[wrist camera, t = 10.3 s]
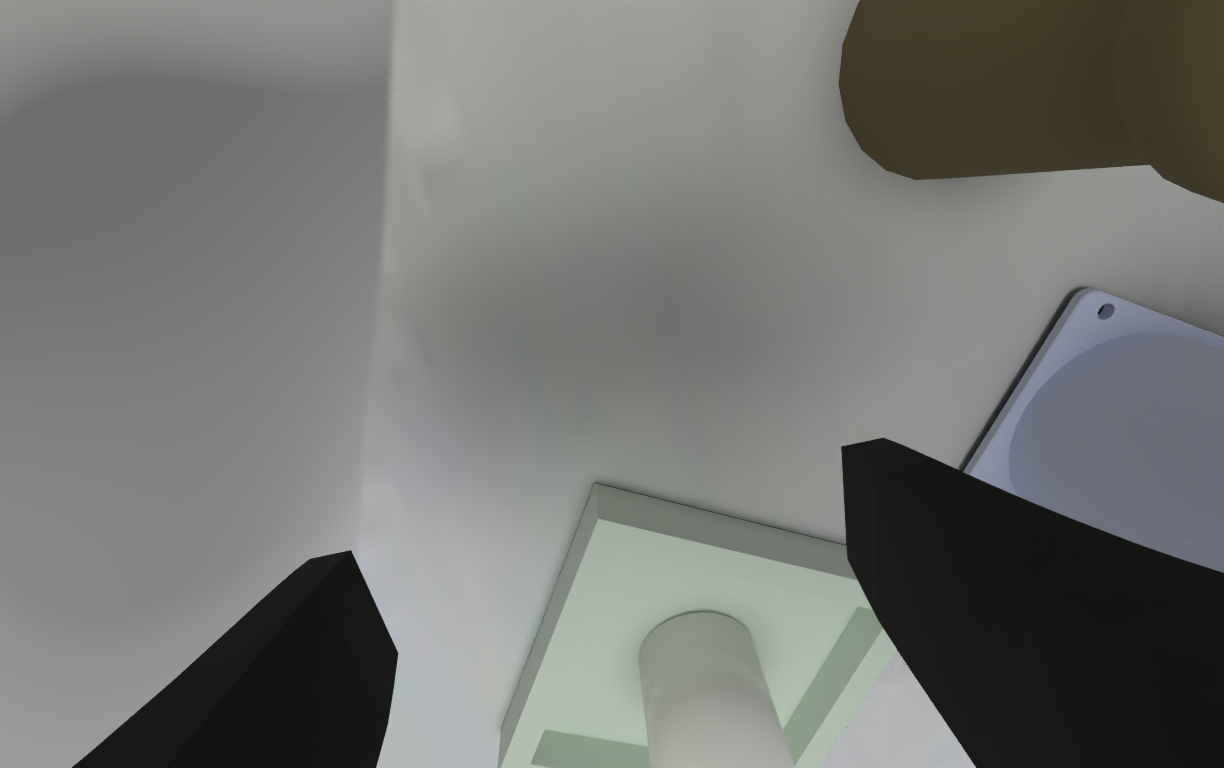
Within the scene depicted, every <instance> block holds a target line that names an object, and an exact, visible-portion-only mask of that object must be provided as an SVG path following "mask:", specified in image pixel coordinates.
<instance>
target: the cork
mask: <svg viewBox="0 0 1224 768" xmlns="http://www.w3.org/2000/svg"><path fill="white" fill-rule="evenodd" d="M839 87H840V92H841V98H842V103H843V108H844V114H845V119H846V122H847V124H848V126H849V127H850V129H851V131H852V133H853V134H854V136H855V138H856V140H857V142H858V143H859V145H860V147H861V149H862V150H863V151H864V152H865V153H866V154H868V155H869V156H870V157H871V158H872V159H874V160H875V161H876V162H877V163H878V164H880V165H881V166H882V167H883V168H884V169H886V170H887V171H890V172H894V173H897V174H900V175H903V176H906V177H909V178H912V179H915V180H920V179H943V178H960V177H974V176H989V175H1004V174H1019V173H1034V172H1049V171H1063V170H1078V169H1093V168H1108V167H1123V166H1138V165H1151V166H1152V167H1153V168H1154V169H1155V170H1156V171H1157V172H1158V173H1159V174H1160V175H1161V176H1162V177H1163V178H1164V179H1166V180H1168V181H1170V182H1172V183H1174V184H1176V185H1179V186H1181V187H1183V188H1185V189H1187V190H1189V191H1191V192H1194V193H1197V194H1200V195H1202V196H1205V197H1208V198H1211V199H1214V200H1217V201H1219V202H1222V203H1224V0H860V2H859V3H858V6H857V9H856V11H855V14H854V16H853V19H852V22H851V24H850V27H849V30H848V32H847V35H846V38H845V40H844V43H843V50H842V60H841V70H840V80H839Z"/></svg>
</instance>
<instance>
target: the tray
mask: <svg viewBox="0 0 1224 768" xmlns="http://www.w3.org/2000/svg"><path fill="white" fill-rule="evenodd" d="M691 613H716V614H721V615H724V616H727V617H730V618H732V619H734V620H736V621H737V622H739V623H740V624H742V625H743V626H744V627H745V628H746V629H747V630H748V632H749V633H750V635H751V637H752V639H753V642H754V645H755V648H756V651H757V654H758V657H759V660H760V663H761V666H762V669H763V672H764V675H765V678H766V681H767V684H768V687H769V690H770V693H771V696H772V699H773V702H774V705H775V708H776V711H777V714H778V717H779V720H780V723H781V726H782V729H783V732H784V735H785V738H786V741H787V744H788V747H789V750H790V754H791V757H792V760H793V763H794V766H795V768H819V767H820V765H821V764H822V762H823V761H824V759H825V758H826V756H827V755H828V753H829V752H830V750H831V749H832V747H833V746H834V744H835V743H836V741H837V740H838V738H839V737H840V735H841V734H842V732H843V731H844V729H845V728H846V726H847V724H848V723H849V721H850V720H851V718H852V717H853V715H854V714H855V712H856V711H857V709H858V708H859V706H860V705H861V703H862V702H863V700H864V699H865V697H866V696H867V694H868V693H869V691H870V690H871V688H872V687H873V685H874V684H875V682H876V681H877V679H878V678H879V676H880V675H881V673H882V672H883V670H884V669H885V667H886V666H887V664H888V663H889V661H890V660H891V658H892V656H893V655H894V653H895V652H896V650H897V649H896V647H895V646H894V644H893V643H892V641H891V640H890V638H889V636H888V635H887V633H886V632H885V630H884V629H883V627H882V626H881V624H880V623H879V621H878V619H877V617H876V615H875V613H874V611H873V609H872V608H871V606H870V604H869V602H868V600H867V598H866V596H865V594H864V592H863V590H862V588H861V586H860V584H859V582H858V580H857V578H856V576H855V574H854V572H853V570H852V568H851V566H850V563H849V561H848V559H847V546H845V545H841V544H837V543H833V542H829V541H825V540H821V539H817V538H813V537H809V536H805V535H801V534H797V533H793V532H789V531H785V530H781V529H777V528H773V527H769V526H765V525H761V524H757V523H753V522H749V521H745V520H741V519H737V518H733V517H729V516H725V515H721V514H717V513H713V512H708V511H704V510H700V509H696V508H692V507H688V506H684V505H680V504H676V503H672V502H668V501H664V500H660V499H656V498H652V497H648V496H644V495H640V494H636V493H632V492H628V491H624V490H620V489H616V488H612V487H608V486H604V485H600V484H596V483H595V484H594V486H593V489H592V492H591V494H590V497H589V500H588V502H587V505H586V507H585V510H584V513H583V515H582V518H581V521H580V523H579V526H578V529H577V531H576V534H575V536H574V539H573V542H572V544H571V547H570V550H569V552H568V555H567V557H566V560H565V563H564V565H563V568H562V571H561V573H560V576H559V579H558V581H557V584H556V586H555V589H554V592H553V594H552V597H551V600H550V602H549V605H548V608H547V610H546V613H545V615H544V618H543V621H542V623H541V626H540V629H539V631H538V634H537V637H536V639H535V642H534V644H533V647H532V650H531V652H530V655H529V658H528V660H527V663H526V665H525V668H524V671H523V673H522V676H521V679H520V681H519V684H518V687H517V689H516V692H515V694H514V697H513V700H512V702H511V705H510V708H509V710H508V713H507V716H506V718H505V721H504V723H503V726H502V729H501V736H500V747H499V758H498V768H651V765H650V756H649V748H648V739H647V731H646V723H645V714H644V706H643V697H642V689H641V680H640V672H639V663H638V657H639V652H640V648H641V646H642V644H643V642H644V641H645V639H646V638H647V637H648V635H649V634H650V633H651V632H652V631H653V630H655V629H656V628H657V627H658V626H660V625H661V624H663V623H665V622H667V621H668V620H671V619H673V618H676V617H679V616H682V615H686V614H691Z"/></svg>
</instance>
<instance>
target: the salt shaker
mask: <svg viewBox="0 0 1224 768" xmlns="http://www.w3.org/2000/svg"><path fill="white" fill-rule="evenodd" d="M638 663H639V672H640V680H641V689H642V697H643V706H644V714H645V723H646V731H647V739H648V748H649V756H650V765H651V768H795V766H794V763H793V760H792V757H791V754H790V750H789V747H788V744H787V741H786V738H785V735H784V732H783V729H782V726H781V723H780V720H779V717H778V714H777V711H776V708H775V705H774V702H773V699H772V696H771V693H770V690H769V687H768V684H767V681H766V678H765V675H764V672H763V669H762V666H761V663H760V660H759V657H758V654H757V651H756V648H755V645H754V642H753V639H752V637H751V635H750V633H749V632H748V630H747V629H746V628H745V627H744V626H743V625H742V624H740V623H739V622H737V621H736V620H734V619H732V618H730V617H727V616H724V615H721V614H716V613H691V614H686V615H682V616H679V617H676V618H673V619H671V620H668V621H667V622H665V623H663V624H661V625H660V626H658V627H657V628H656V629H655V630H653V631H652V632H651V633H650V634H649V635H648V637H647V638H646V639H645V641H644V642H643V644H642V646H641V648H640V652H639V657H638Z"/></svg>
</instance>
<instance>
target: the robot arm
mask: <svg viewBox="0 0 1224 768" xmlns="http://www.w3.org/2000/svg"><path fill="white" fill-rule="evenodd" d="M1103 305H1104V308H1103V311H1102V312H1101V313H1100V314H1098V311H1099V309H1100V308H1101V307H1102V306H1103ZM841 449H842V468H843V487H844V506H845V525H846V544H847V559H848V561H849V563H850V566H851V568H852V570H853V572H854V574H855V576H856V578H857V580H858V582H859V584H860V586H861V588H862V590H863V592H864V594H865V596H866V598H867V600H868V602H869V604H870V606H871V608H872V609H873V611H874V613H875V615H876V617H877V619H878V621H879V623H880V624H881V626H882V627H883V629H884V630H885V632H886V633H887V635H888V636H889V638H890V640H891V641H892V643H893V644H894V646H895V647H896V649H897V650H898V652H899V653H900V655H901V656H902V658H903V659H904V661H905V662H906V664H907V665H908V667H909V668H910V670H911V671H912V673H913V674H914V676H915V677H916V679H917V680H918V682H919V683H920V685H921V686H922V688H923V689H924V691H925V692H926V694H927V695H928V697H929V698H930V700H931V701H932V702H933V704H934V705H935V707H936V708H937V710H938V711H939V713H940V714H941V716H942V717H943V719H944V720H945V722H946V723H947V725H948V726H949V728H950V729H951V731H952V732H953V734H954V735H955V737H956V738H957V740H958V741H959V743H960V744H961V746H962V747H963V749H964V750H965V752H966V753H967V755H968V756H969V758H970V759H971V761H972V762H973V764H974V765H975V766H976V768H1224V337H1222V336H1220V335H1217V334H1214V333H1212V332H1209V331H1206V330H1204V329H1201V328H1198V327H1196V326H1193V325H1190V324H1188V323H1185V322H1182V321H1180V320H1177V319H1174V318H1172V317H1169V316H1166V315H1164V314H1161V313H1158V312H1156V311H1153V310H1150V309H1148V308H1145V307H1142V306H1140V305H1137V304H1134V303H1132V302H1129V301H1126V300H1124V299H1121V298H1118V297H1116V296H1113V295H1110V294H1108V293H1105V292H1102V291H1099V290H1096V289H1092V288H1086V289H1083V290H1081V291H1079V292H1078V293H1076V294H1075V295H1074V297H1073V298H1072V299H1071V301H1070V302H1069V304H1068V305H1067V307H1066V308H1065V310H1064V312H1063V313H1062V315H1061V316H1060V318H1059V320H1058V321H1057V323H1056V324H1055V326H1054V328H1053V329H1052V331H1051V332H1050V334H1049V336H1048V337H1047V339H1046V340H1045V342H1044V344H1043V345H1042V347H1041V348H1040V350H1039V352H1038V353H1037V355H1036V356H1035V358H1034V360H1033V361H1032V363H1031V364H1030V366H1029V368H1028V369H1027V371H1026V372H1025V374H1024V375H1023V377H1022V379H1021V380H1020V382H1019V383H1018V385H1017V387H1016V388H1015V390H1014V391H1013V393H1012V395H1011V396H1010V398H1009V399H1008V401H1007V403H1006V404H1005V406H1004V407H1003V409H1002V411H1001V412H1000V414H999V415H998V417H997V419H996V420H995V422H994V423H993V425H992V427H991V428H990V430H989V431H988V433H987V435H986V436H985V438H984V439H983V441H982V442H981V444H980V446H979V447H978V449H977V450H976V452H975V454H974V455H973V457H972V458H971V460H970V462H969V463H968V465H967V466H966V468H965V470H964V471H963V472H962V471H960V470H957V469H955V468H953V467H951V466H948V465H946V464H944V463H942V462H940V461H937V460H935V459H933V458H931V457H928V456H926V455H924V454H922V453H919V452H917V451H915V450H913V449H910V448H908V447H906V446H903V445H901V444H898V443H896V442H893V441H891V440H888V439H885V438H880V439H875V440H870V441H866V442H861V443H856V444H852V445H847V446H842V447H841ZM397 659H398V652H397V650H396V647H395V645H394V643H393V641H392V639H391V636H390V634H389V632H388V630H387V628H386V626H385V623H384V621H383V619H382V617H381V615H380V612H379V610H378V608H377V606H376V604H375V602H374V599H373V597H372V595H371V593H370V591H369V588H368V586H367V584H366V582H365V580H364V578H363V575H362V573H361V571H360V569H359V567H358V564H357V562H356V560H355V558H354V556H353V554H352V551H351V550H350V551H345V552H341V553H336V554H331V555H326V556H322V557H317V558H312V559H310V560H308V561H307V562H305V563H304V564H303V565H302V566H300V567H299V568H298V569H296V570H295V571H294V572H293V573H292V574H291V575H289V576H288V577H287V578H286V579H285V580H283V581H282V582H281V583H280V584H279V585H278V586H277V587H275V588H274V589H273V590H272V591H271V592H270V593H269V594H268V595H266V596H265V597H264V598H263V599H262V600H261V601H260V602H259V603H258V604H256V605H255V606H254V607H253V608H252V609H251V610H250V611H249V612H248V613H247V614H246V615H244V616H243V617H242V618H241V619H240V620H239V621H238V622H237V623H236V624H235V625H234V626H233V627H231V628H230V629H229V630H228V631H227V632H226V633H225V634H224V635H223V636H222V637H220V638H219V639H218V640H217V641H216V642H215V643H214V644H213V645H212V646H211V647H209V648H208V649H207V650H206V651H205V652H204V653H203V654H202V655H201V656H200V657H199V658H197V659H196V660H195V661H194V662H193V663H192V664H191V665H190V666H189V667H188V668H187V669H185V670H184V671H183V672H182V673H181V674H180V675H179V676H178V677H177V678H176V679H174V680H173V681H172V682H171V683H170V684H169V685H167V686H166V687H165V688H164V689H163V690H162V691H161V692H160V693H158V694H157V695H156V696H155V697H154V698H152V699H151V700H150V701H149V702H148V703H147V704H146V705H144V706H143V707H142V708H141V709H140V710H139V711H137V713H135V714H134V715H133V716H132V717H130V718H129V719H128V720H127V721H126V722H125V723H124V724H122V725H121V726H120V727H119V728H118V729H117V730H115V731H114V732H113V733H112V734H111V735H110V736H109V737H107V738H106V739H105V740H104V741H103V742H102V743H101V744H99V745H98V746H97V747H96V748H95V749H93V750H92V751H91V752H90V753H89V754H88V755H86V756H85V757H84V758H83V759H82V760H80V761H79V762H78V763H77V764H75V765H74V766H73V767H72V768H376V766H377V762H378V759H379V755H380V751H381V748H382V744H383V740H384V736H385V733H386V729H387V725H388V720H389V714H390V708H391V702H392V696H393V689H394V682H395V674H396V666H397Z"/></svg>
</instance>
